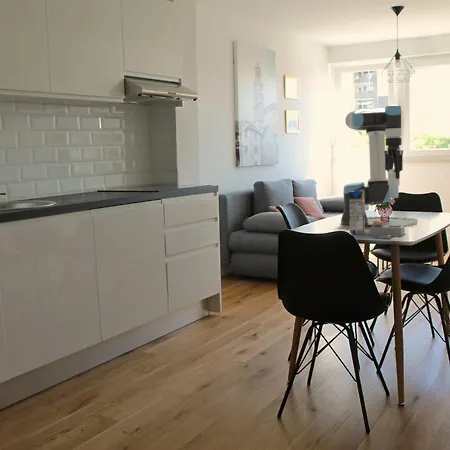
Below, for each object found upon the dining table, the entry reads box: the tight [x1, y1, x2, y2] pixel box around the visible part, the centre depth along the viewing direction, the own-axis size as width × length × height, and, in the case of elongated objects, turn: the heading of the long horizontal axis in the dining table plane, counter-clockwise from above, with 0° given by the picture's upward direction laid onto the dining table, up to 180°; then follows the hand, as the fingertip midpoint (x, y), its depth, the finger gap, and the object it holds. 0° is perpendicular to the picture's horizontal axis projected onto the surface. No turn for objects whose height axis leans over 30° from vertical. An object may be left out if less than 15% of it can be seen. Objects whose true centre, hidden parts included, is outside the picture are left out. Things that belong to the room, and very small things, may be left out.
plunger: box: [372, 220, 384, 227], centre depth 301 cm, size 5×5×6 cm
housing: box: [369, 224, 405, 237], centre depth 299 cm, size 15×9×4 cm, turn 62°
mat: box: [372, 235, 394, 239], centre depth 289 cm, size 8×7×1 cm
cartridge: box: [389, 168, 400, 199], centre depth 294 cm, size 5×5×14 cm
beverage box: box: [348, 190, 366, 236], centre depth 306 cm, size 7×11×22 cm, turn 163°
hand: (393, 185), depth 294 cm, fingers closed on cartridge, 4 cm apart
